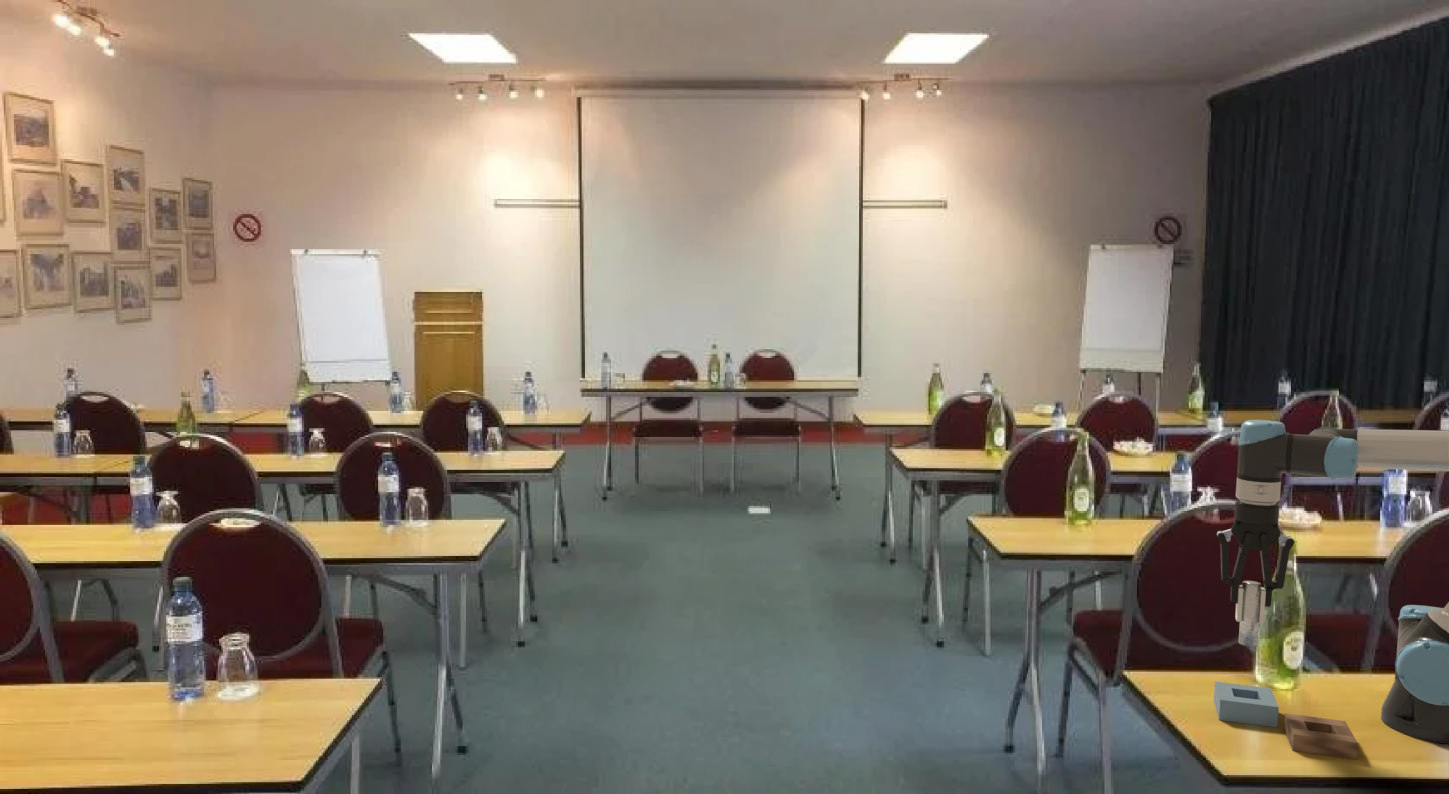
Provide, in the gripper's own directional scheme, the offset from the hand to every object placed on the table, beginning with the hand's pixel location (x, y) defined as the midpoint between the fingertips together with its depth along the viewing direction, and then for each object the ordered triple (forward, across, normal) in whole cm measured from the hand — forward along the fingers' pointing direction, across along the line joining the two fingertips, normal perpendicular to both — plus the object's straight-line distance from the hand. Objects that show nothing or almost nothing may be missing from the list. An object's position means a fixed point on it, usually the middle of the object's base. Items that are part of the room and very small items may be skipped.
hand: (1249, 620), depth 199 cm
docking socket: (+19, 0, 0) cm, 19 cm away
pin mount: (+19, +11, -10) cm, 24 cm away
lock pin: (+5, 0, 0) cm, 5 cm away
